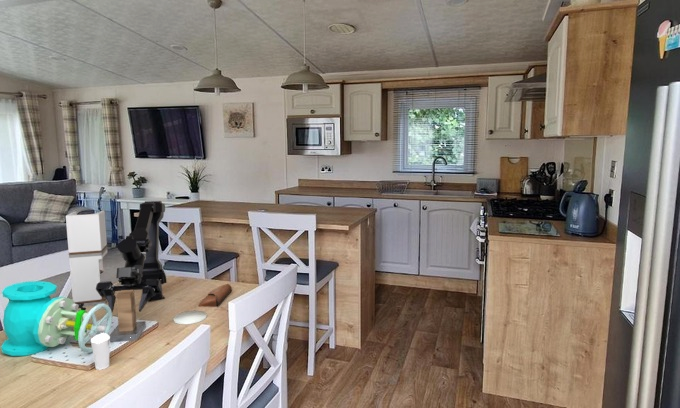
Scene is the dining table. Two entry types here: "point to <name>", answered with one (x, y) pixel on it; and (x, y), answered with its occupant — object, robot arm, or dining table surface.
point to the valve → (45, 319)
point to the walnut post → (126, 310)
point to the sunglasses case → (216, 296)
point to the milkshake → (101, 350)
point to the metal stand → (127, 333)
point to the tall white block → (86, 255)
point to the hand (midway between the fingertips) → (125, 312)
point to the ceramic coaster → (190, 317)
